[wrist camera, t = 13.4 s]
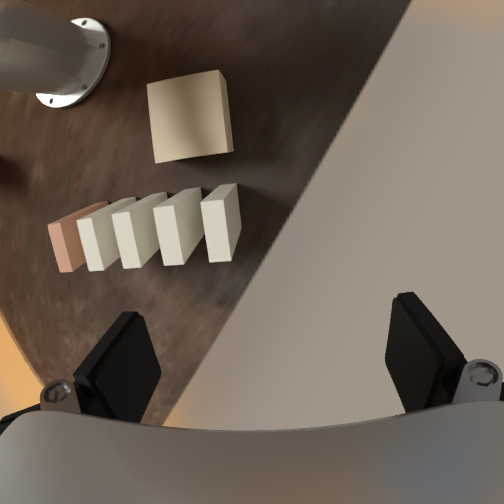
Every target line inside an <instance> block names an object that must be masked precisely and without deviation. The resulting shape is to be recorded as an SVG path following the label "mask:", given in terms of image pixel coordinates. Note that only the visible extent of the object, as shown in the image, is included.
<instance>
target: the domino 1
mask: <svg viewBox="0 0 504 504" xmlns="http://www.w3.org/2000/svg"><path fill="white" fill-rule="evenodd" d="M106 206H108V201H105V202H100V203H95V204H93V205H91V206H88V207H86V208H84V209H81V210H79V211H77V212H74V213H72V214H70V215H68V216H66V217H63V218H61V219H59V220H57V221H55V222H53V223H50V224H48V229H49V233H50V237H51V241H52V245H53V249H54V252H55V256H56V260H57V263H58V266H59V270H60V272H73V271H74V270H76V269H77V268H78V267H79V266H81V265H82V264H83V263H85V262H86V258H85V254H84V250H83V246H82V242H81V238H80V234H79V230H78V225H77V221H76V220H78V219H80V218H82V217H84V216H86V215H89V214H91V213H93V212H95V211H97V210H99V209H101V208H103V207H106Z"/></svg>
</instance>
